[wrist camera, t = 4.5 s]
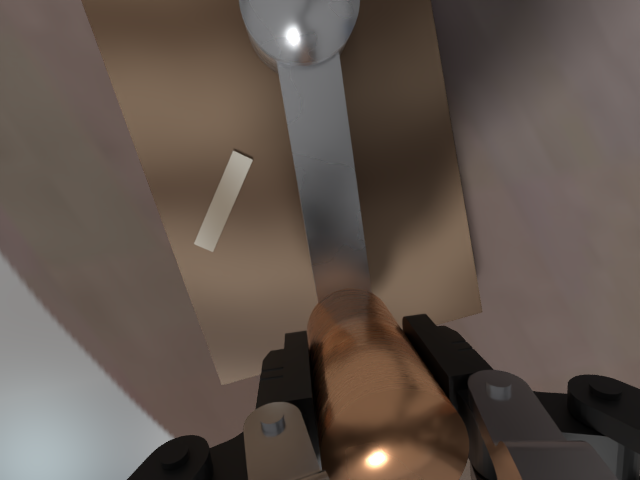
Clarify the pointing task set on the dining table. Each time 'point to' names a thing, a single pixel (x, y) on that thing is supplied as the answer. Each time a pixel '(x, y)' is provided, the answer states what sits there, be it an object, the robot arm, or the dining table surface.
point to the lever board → (287, 166)
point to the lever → (349, 269)
